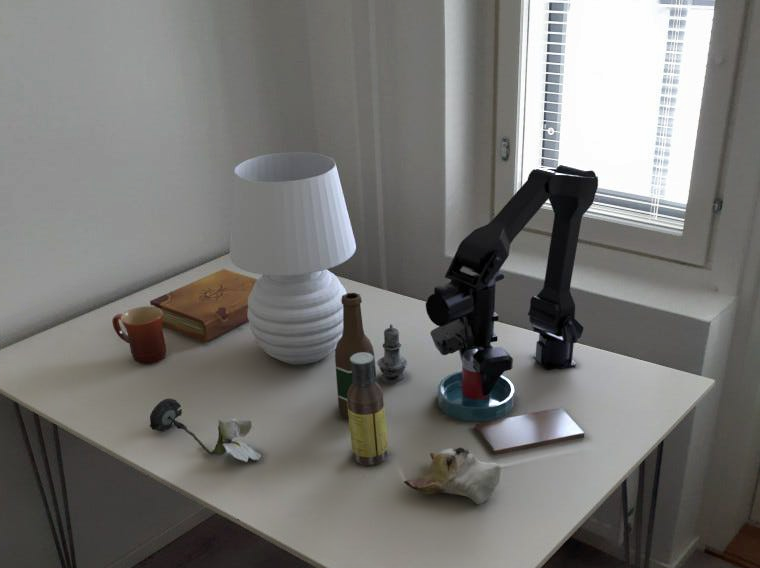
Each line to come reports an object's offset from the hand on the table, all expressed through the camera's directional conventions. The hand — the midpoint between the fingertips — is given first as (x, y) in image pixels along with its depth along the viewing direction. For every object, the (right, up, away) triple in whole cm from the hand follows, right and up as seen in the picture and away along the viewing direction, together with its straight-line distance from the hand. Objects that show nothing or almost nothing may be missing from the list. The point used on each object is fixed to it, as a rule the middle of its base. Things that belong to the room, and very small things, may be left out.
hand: (476, 383), depth 162 cm
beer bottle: (-22, -6, +2) cm, 23 cm away
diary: (-55, +17, +41) cm, 71 cm away
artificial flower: (-49, -12, -5) cm, 51 cm away
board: (+8, -9, -7) cm, 15 cm away
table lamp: (-34, +7, +23) cm, 42 cm away
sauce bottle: (-20, -13, -11) cm, 27 cm away
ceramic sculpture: (-6, -19, -20) cm, 28 cm away
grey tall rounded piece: (-15, +1, +12) cm, 19 cm away
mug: (-68, +6, +25) cm, 73 cm away
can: (0, -3, +2) cm, 4 cm away
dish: (0, -4, +2) cm, 4 cm away
